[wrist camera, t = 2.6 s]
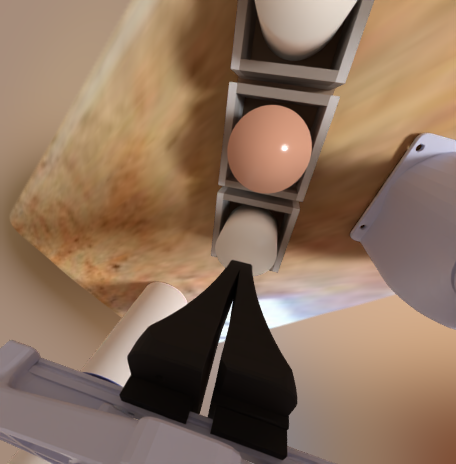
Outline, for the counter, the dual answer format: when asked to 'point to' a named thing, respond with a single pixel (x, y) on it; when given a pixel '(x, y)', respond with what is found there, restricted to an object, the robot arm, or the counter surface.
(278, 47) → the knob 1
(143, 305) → the cylindrical container
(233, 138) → the middle knob
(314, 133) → the mount
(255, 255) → the knob
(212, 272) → the counter surface
